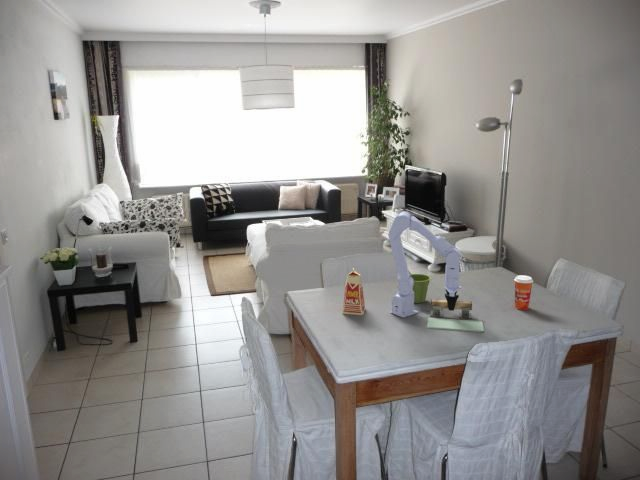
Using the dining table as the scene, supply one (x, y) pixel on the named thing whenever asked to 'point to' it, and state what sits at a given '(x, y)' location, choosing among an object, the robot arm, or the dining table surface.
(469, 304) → the rail
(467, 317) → the standards
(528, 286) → the paper cup
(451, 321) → the mat
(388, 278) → the dining table surface
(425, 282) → the plant pot
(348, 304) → the milk carton
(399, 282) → the robot arm
